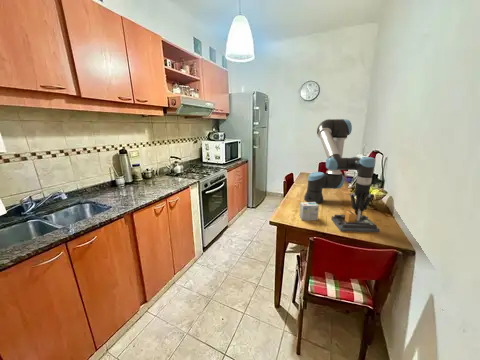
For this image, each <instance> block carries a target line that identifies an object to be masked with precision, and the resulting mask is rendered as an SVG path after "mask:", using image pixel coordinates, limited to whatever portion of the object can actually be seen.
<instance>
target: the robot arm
mask: <svg viewBox="0 0 480 360" xmlns="http://www.w3.org/2000/svg"><path fill="white" fill-rule="evenodd" d="M352 130H353V127H352V123H351V120H349V119H344V118H343V119H342V118H339V119H337V118H336V119H335V118H334V119H331V118H328V119H325V120H323V121H321V122H320V123H319V125H318V126H317V127H316V135H317V137H318V138H319V139H320V141H321V143H322V144H321V145H322V147H323V149H324V152H325V154H326V155H325V156H326V157H327V159H326V161H325V168H326V169H327V170H326V172H325V173H324V172H321V171H314V172H311V173H309V174H308V177H307V188H306V192H305V195H304V196H303V200H304V202H316V203H317V204H322V203H324V195H323V189H328V190H329V189H330V190H336V189H341V188H342V187H343V185H344V183H345V176H344V175H343V172H342V171H343V170H345V171H356V172H357V176H356V183H355V188H354V191H353V193H349V196H350V200H351V208H352V209H353V210H354V213H355V214H356V220H357V221H359V220H360V215H363V212H364V211H366V210H367V209H368V207H369V204H370V202H371V200H372V199H373V197H374V195H373V194H371V192H370V191H371V187H372V185H371V184H372V181H373V175H374V171H375V166H376V158H374V157H371V156H361V157H358V156H352V157H343V154H344V145H345V140H347V139H348V136H350V135H351V134H352ZM341 170H342V171H341Z"/></svg>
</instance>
